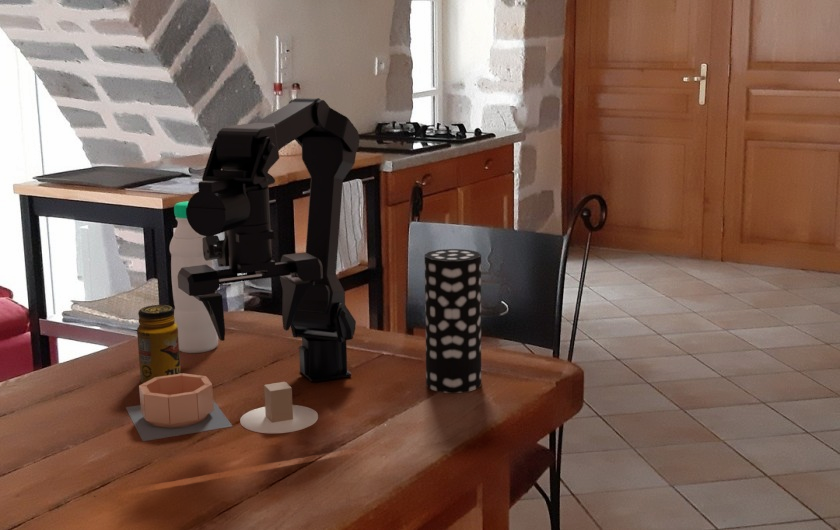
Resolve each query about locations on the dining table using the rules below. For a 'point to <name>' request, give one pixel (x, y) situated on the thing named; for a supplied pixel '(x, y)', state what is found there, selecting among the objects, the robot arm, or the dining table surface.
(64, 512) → the dining table surface
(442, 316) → the spotted tube
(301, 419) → the lid
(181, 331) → the water bottle
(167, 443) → the dining table surface
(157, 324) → the condiment
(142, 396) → the bowl
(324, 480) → the dining table surface
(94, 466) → the dining table surface
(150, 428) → the mat
